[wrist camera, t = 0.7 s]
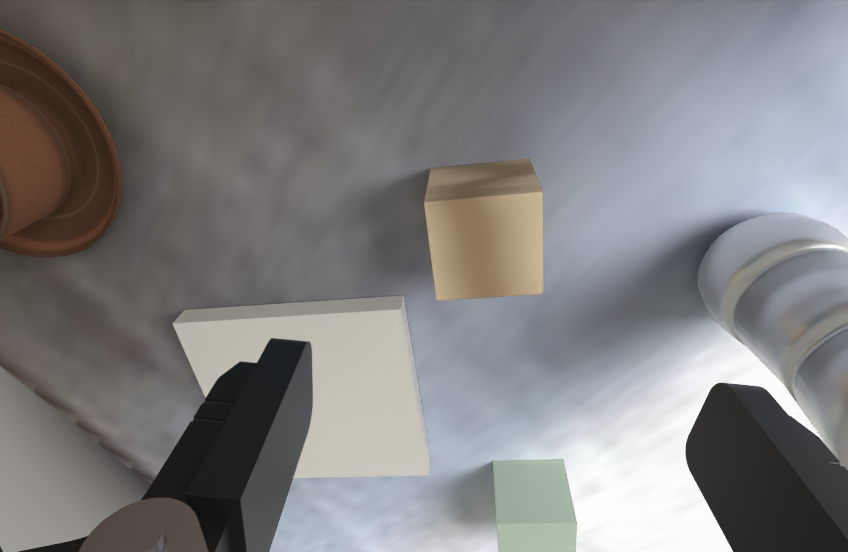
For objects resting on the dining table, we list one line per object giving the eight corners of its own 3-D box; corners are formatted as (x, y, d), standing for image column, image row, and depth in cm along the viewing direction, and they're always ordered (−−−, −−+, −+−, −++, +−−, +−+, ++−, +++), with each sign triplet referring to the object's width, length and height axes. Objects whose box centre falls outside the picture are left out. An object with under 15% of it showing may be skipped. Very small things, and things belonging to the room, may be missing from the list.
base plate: (403, 295, 29) (400, 309, 28) (430, 458, 36) (429, 475, 35) (184, 309, 31) (172, 323, 30) (249, 462, 38) (241, 479, 36)
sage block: (563, 458, 35) (576, 523, 31) (562, 503, 38) (574, 569, 33) (492, 459, 36) (496, 523, 31) (496, 504, 38) (500, 569, 34)
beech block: (528, 158, 25) (542, 191, 20) (530, 246, 27) (543, 293, 23) (430, 167, 25) (424, 202, 21) (440, 253, 28) (436, 300, 23)
